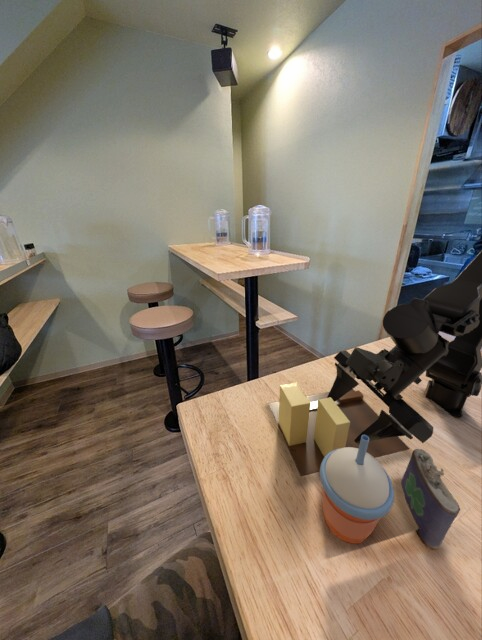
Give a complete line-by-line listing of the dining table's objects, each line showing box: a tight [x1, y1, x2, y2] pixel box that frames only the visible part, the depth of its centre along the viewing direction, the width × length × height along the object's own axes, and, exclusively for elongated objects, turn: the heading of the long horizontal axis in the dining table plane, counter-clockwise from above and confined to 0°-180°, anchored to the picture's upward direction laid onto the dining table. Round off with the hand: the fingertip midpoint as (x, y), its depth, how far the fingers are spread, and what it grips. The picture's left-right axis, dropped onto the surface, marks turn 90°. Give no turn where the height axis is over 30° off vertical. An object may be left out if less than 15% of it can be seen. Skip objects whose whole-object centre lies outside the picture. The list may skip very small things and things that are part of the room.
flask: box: [400, 448, 461, 550], centre depth 36 cm, size 9×3×11 cm, turn 172°
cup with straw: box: [319, 435, 395, 544], centre depth 34 cm, size 9×9×18 cm
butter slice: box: [314, 397, 350, 457], centre depth 45 cm, size 2×6×10 cm, turn 12°
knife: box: [310, 390, 365, 411], centre depth 58 cm, size 15×2×1 cm, turn 102°
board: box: [268, 388, 410, 477], centre depth 53 cm, size 22×18×2 cm
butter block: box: [278, 382, 310, 446], centre depth 49 cm, size 4×6×10 cm, turn 12°
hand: (340, 421), depth 45 cm, fingers open, 9 cm apart
